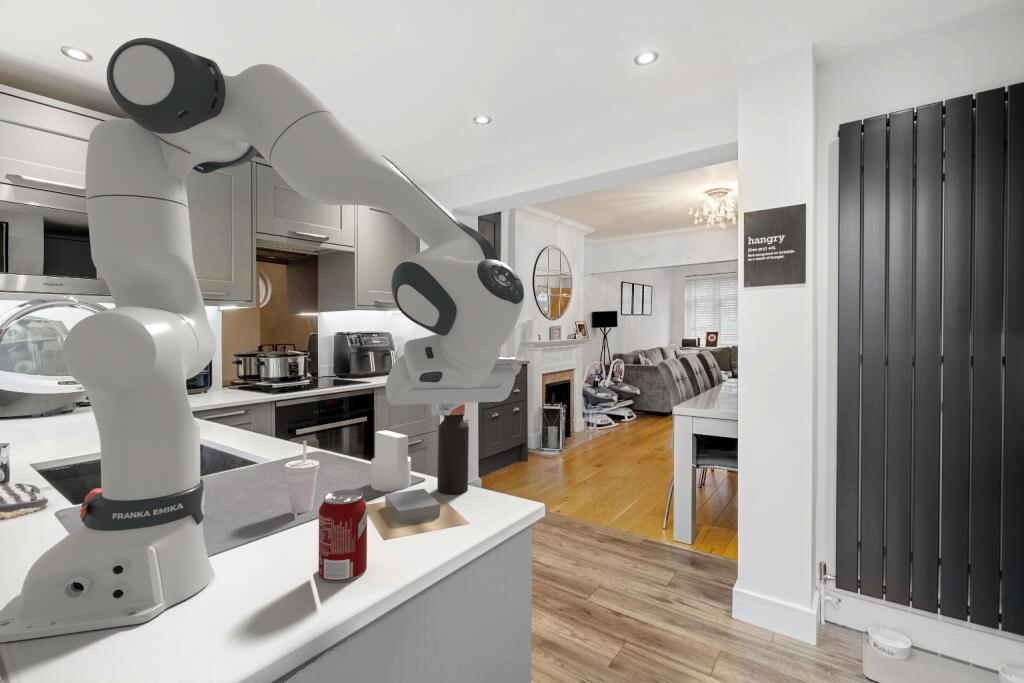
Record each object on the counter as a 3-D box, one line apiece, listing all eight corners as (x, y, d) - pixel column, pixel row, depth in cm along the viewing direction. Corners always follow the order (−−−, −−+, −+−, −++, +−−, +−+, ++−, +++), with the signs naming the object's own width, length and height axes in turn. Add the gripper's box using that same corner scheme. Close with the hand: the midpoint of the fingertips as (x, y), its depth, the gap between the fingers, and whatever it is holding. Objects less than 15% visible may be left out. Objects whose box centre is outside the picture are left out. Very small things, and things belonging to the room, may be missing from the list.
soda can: (351, 590, 69) (352, 505, 68) (308, 584, 70) (309, 501, 70) (374, 567, 75) (375, 489, 75) (334, 562, 77) (335, 486, 76)
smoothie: (326, 510, 98) (326, 440, 97) (297, 521, 92) (297, 447, 92) (306, 503, 101) (306, 436, 101) (277, 513, 96) (277, 442, 95)
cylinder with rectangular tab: (363, 485, 114) (363, 433, 113) (395, 476, 121) (395, 428, 120) (386, 494, 108) (386, 440, 108) (418, 484, 115) (419, 433, 114)
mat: (383, 543, 84) (383, 539, 84) (362, 508, 99) (362, 505, 99) (470, 526, 91) (470, 523, 91) (437, 496, 107) (437, 493, 107)
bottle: (473, 491, 111) (475, 403, 110) (455, 499, 105) (456, 407, 105) (450, 485, 114) (451, 400, 114) (431, 493, 109) (432, 404, 108)
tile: (398, 511, 90) (385, 494, 99) (398, 524, 90) (385, 506, 99) (440, 504, 94) (423, 488, 103) (439, 517, 94) (423, 500, 103)
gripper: (519, 344, 80) (490, 395, 89) (394, 340, 70) (376, 398, 79) (531, 374, 76) (500, 424, 85) (402, 374, 67) (382, 431, 75)
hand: (439, 412), depth 82 cm, fingers closed
